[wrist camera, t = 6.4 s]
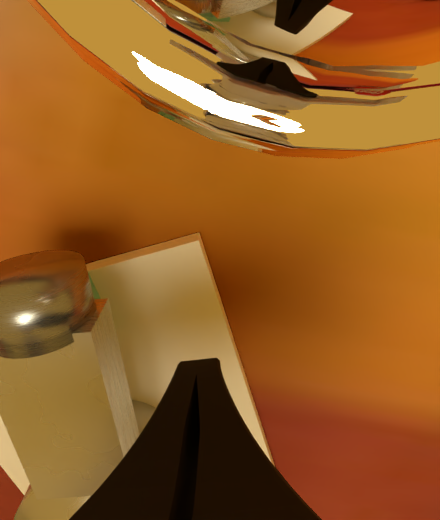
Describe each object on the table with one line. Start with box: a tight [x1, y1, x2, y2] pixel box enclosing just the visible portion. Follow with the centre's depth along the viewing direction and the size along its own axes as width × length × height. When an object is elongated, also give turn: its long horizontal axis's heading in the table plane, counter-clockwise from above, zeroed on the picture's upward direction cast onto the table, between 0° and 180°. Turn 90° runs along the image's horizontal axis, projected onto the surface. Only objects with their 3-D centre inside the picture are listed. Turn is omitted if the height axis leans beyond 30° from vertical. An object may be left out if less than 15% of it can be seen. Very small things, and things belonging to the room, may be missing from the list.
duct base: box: [0, 232, 275, 495], centre depth 17 cm, size 14×17×3 cm
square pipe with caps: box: [0, 250, 140, 520], centre depth 14 cm, size 15×7×3 cm, turn 4°
